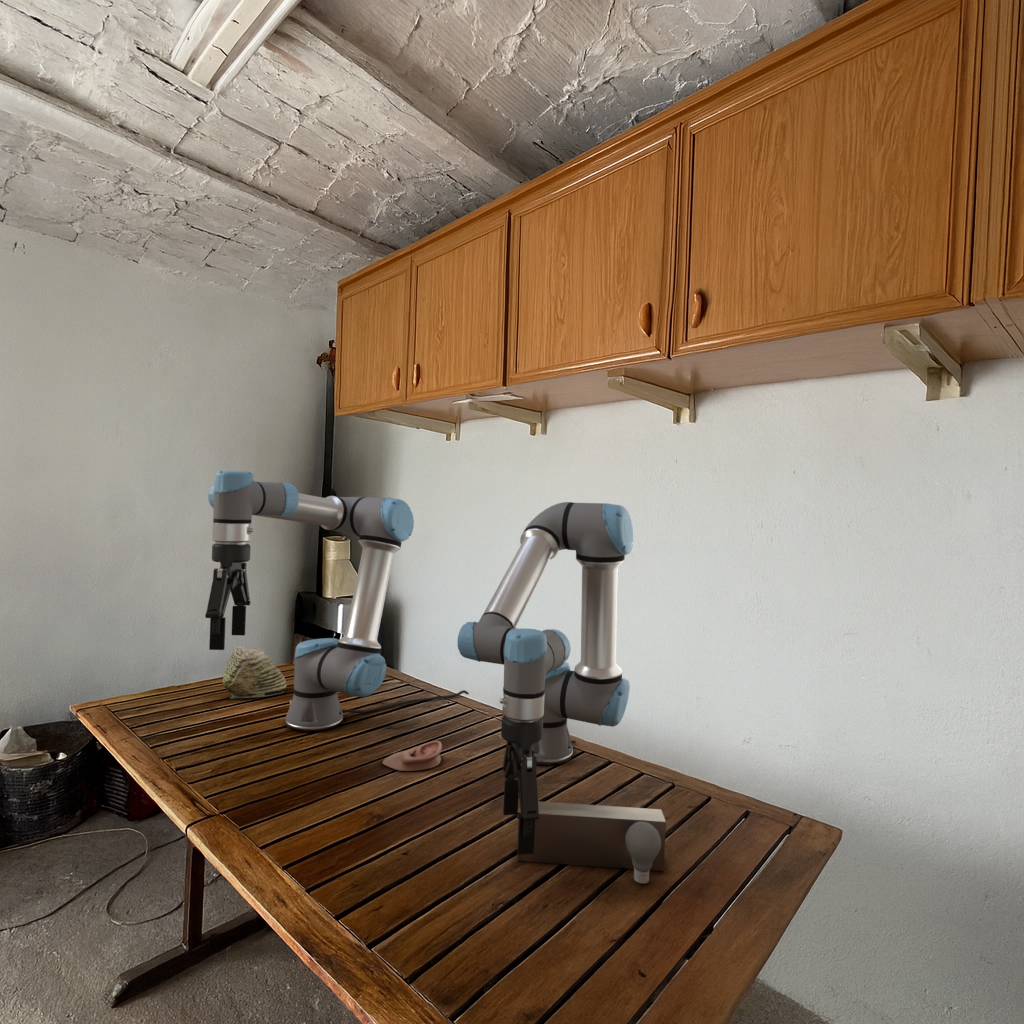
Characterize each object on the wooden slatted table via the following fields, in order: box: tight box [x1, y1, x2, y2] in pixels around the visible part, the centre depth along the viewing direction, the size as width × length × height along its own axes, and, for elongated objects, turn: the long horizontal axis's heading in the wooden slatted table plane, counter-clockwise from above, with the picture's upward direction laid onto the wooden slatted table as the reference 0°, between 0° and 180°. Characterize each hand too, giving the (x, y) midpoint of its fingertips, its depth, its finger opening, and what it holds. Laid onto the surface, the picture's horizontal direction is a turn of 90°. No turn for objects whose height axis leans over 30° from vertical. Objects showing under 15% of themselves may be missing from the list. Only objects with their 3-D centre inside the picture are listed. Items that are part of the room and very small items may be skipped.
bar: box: [516, 800, 667, 872], centre depth 115 cm, size 26×5×9 cm, turn 87°
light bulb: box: [625, 822, 661, 884], centre depth 108 cm, size 6×6×10 cm
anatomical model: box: [382, 740, 443, 772], centre depth 153 cm, size 13×4×12 cm
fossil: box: [222, 646, 288, 699], centre depth 198 cm, size 9×18×15 cm, turn 132°
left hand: (228, 642), depth 135 cm, fingers open, 13 cm apart
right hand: (517, 832), depth 115 cm, fingers open, 13 cm apart
